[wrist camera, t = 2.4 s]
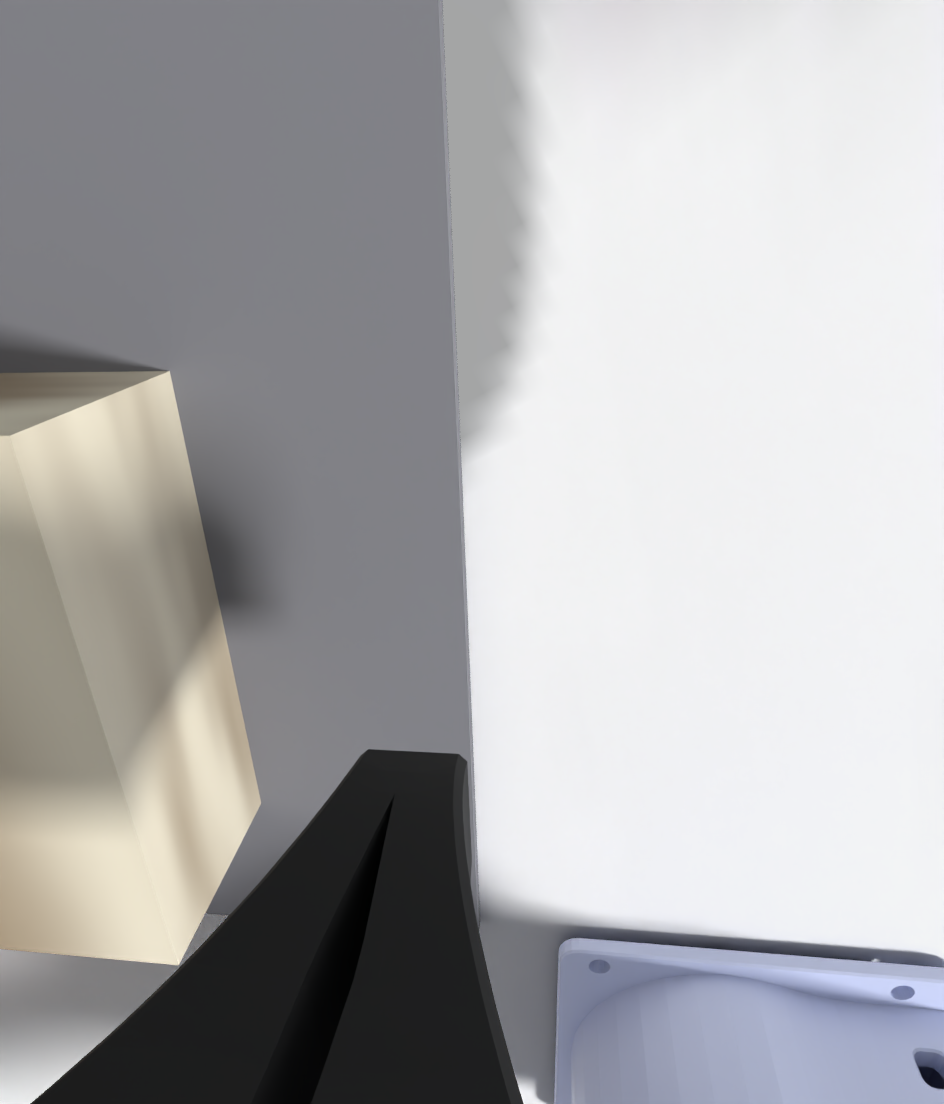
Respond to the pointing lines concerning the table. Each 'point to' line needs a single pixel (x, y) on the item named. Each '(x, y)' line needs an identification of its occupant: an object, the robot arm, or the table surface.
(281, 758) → the rubber mat
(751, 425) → the table surface
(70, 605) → the birch block
